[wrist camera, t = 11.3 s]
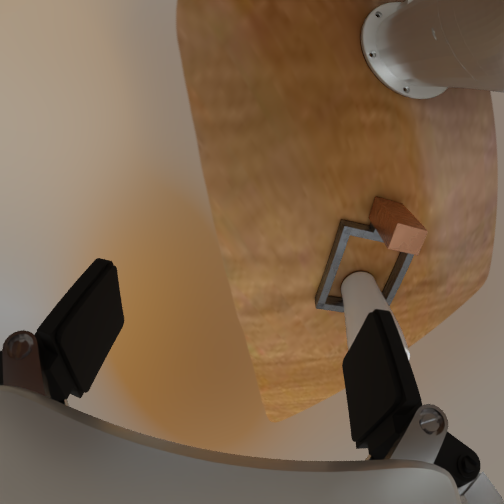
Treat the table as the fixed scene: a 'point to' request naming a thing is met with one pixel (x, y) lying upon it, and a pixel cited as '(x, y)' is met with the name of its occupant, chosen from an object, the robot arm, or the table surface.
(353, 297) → the drinking glass
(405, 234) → the frame
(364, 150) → the table surface
